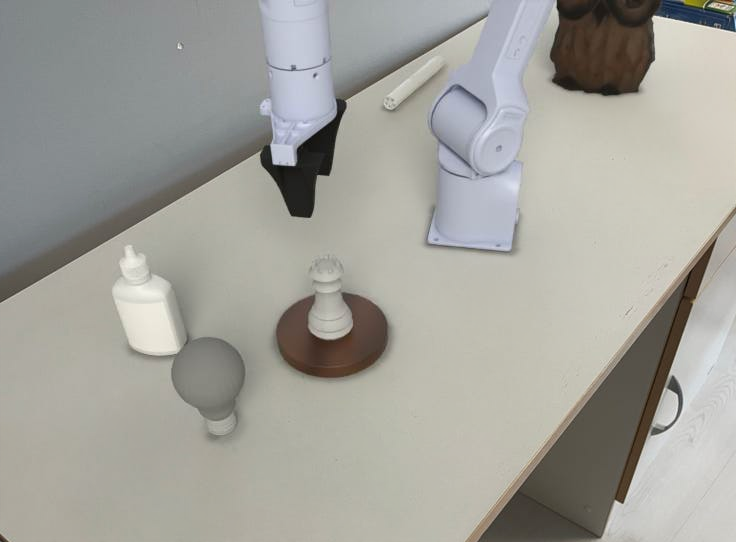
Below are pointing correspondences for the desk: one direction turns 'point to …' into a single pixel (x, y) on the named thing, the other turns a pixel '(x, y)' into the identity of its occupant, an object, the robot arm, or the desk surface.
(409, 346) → the desk surface
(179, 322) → the eye dropper bottle
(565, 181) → the desk surface
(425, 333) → the desk surface
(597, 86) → the owl
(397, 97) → the cream white rod
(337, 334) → the rook chess piece
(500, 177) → the robot arm
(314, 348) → the walnut coaster
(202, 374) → the light bulb
